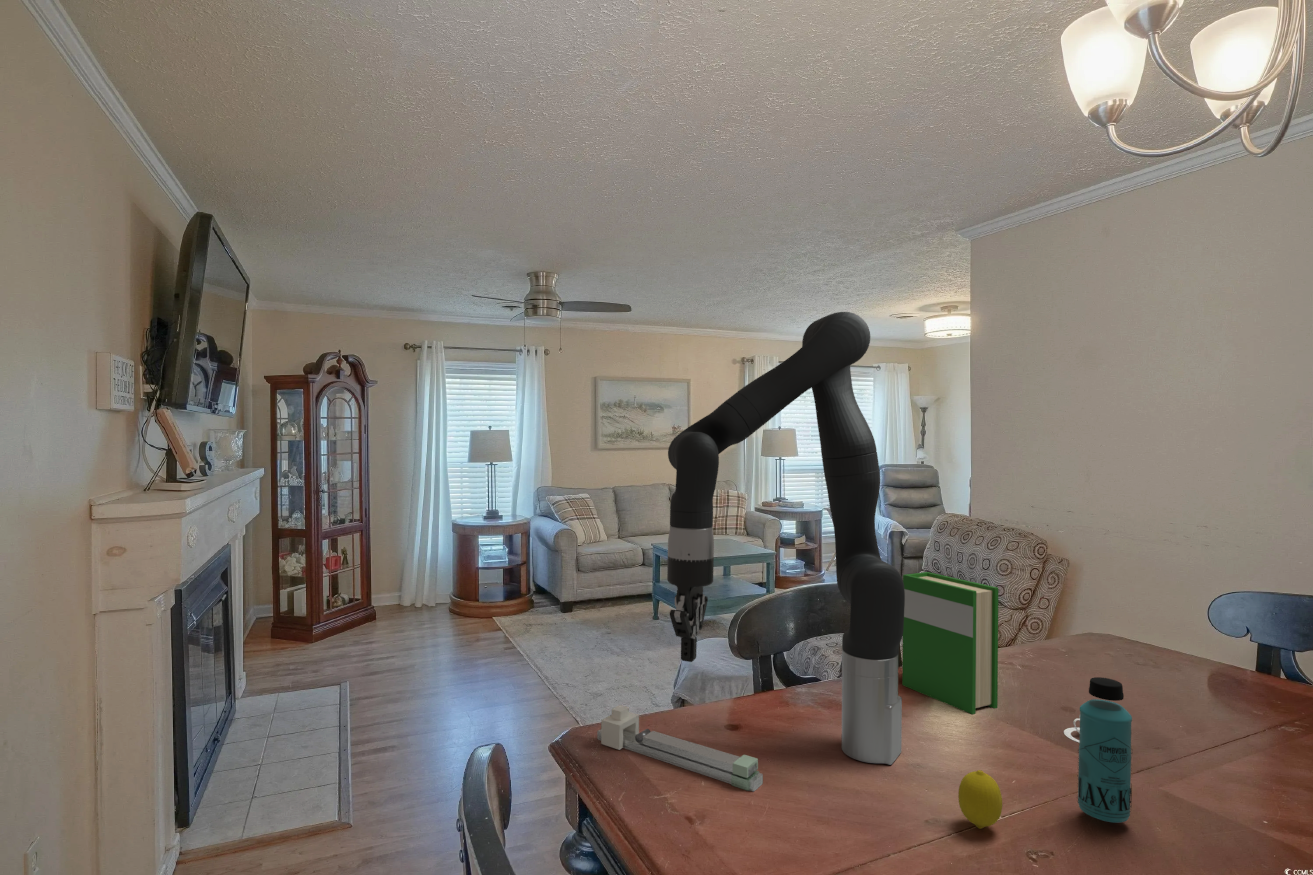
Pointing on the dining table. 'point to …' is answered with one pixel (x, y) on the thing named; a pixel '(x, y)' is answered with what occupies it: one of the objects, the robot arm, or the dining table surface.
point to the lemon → (980, 799)
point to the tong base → (688, 762)
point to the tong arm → (702, 754)
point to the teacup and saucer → (1069, 730)
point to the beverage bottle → (1105, 753)
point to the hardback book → (951, 640)
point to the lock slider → (618, 726)
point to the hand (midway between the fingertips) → (688, 659)
